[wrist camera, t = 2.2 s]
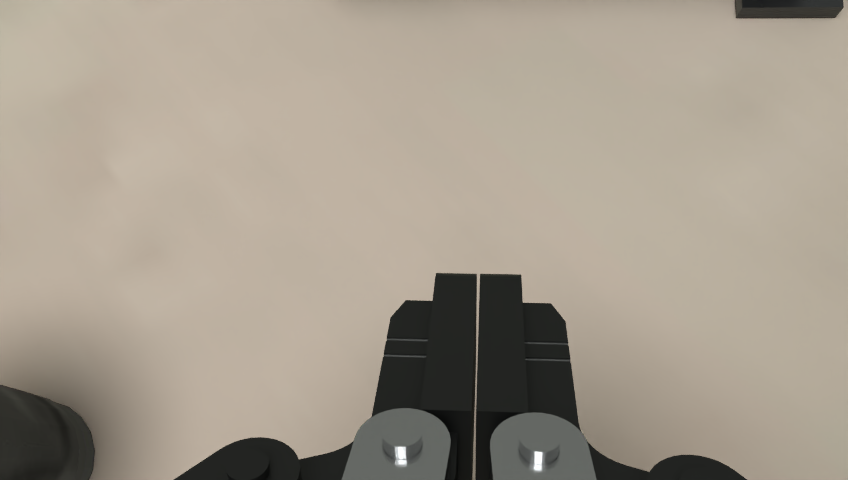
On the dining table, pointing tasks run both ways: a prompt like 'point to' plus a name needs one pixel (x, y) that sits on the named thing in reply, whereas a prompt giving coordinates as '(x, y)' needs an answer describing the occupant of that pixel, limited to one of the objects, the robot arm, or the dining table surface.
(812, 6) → the post
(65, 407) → the beverage cup
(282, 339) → the dining table surface
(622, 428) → the dining table surface
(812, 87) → the dining table surface
